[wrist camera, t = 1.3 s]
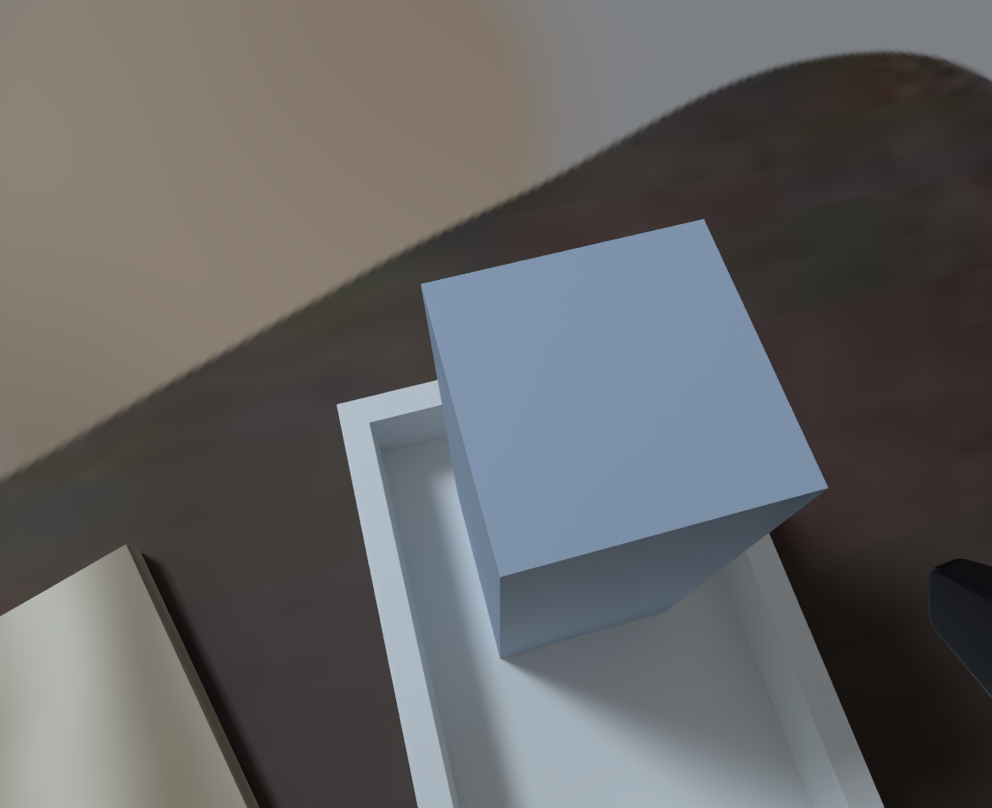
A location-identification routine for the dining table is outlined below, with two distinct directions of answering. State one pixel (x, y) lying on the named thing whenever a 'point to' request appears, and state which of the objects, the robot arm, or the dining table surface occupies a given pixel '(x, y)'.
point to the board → (108, 701)
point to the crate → (586, 665)
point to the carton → (610, 430)
